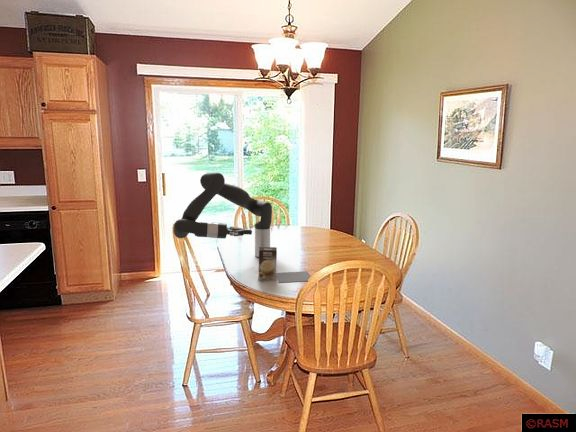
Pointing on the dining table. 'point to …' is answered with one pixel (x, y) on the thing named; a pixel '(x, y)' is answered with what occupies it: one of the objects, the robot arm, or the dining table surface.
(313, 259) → the dining table surface
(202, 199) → the robot arm
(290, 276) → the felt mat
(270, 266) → the coffee box
